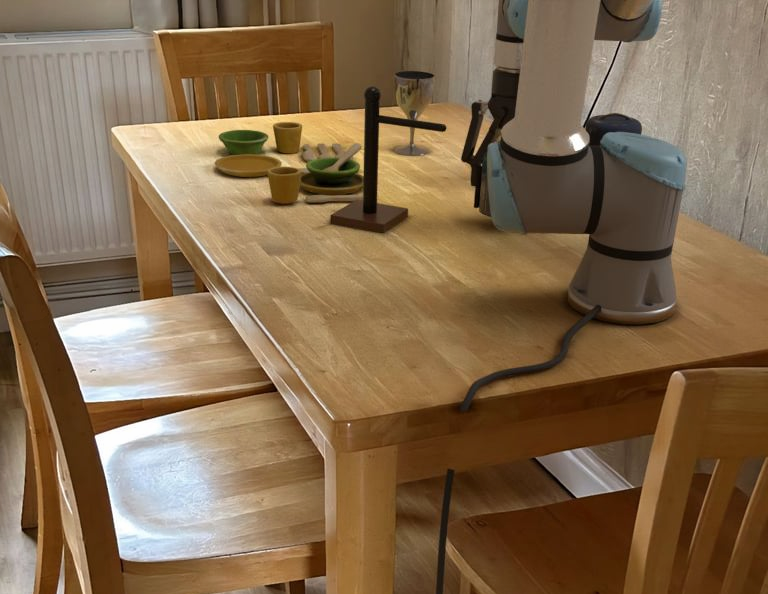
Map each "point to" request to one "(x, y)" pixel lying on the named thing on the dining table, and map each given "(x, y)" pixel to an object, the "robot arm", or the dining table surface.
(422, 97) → the wine glass
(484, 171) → the mug
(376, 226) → the cup holder
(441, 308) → the dining table surface
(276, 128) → the tableware set
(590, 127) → the canister
